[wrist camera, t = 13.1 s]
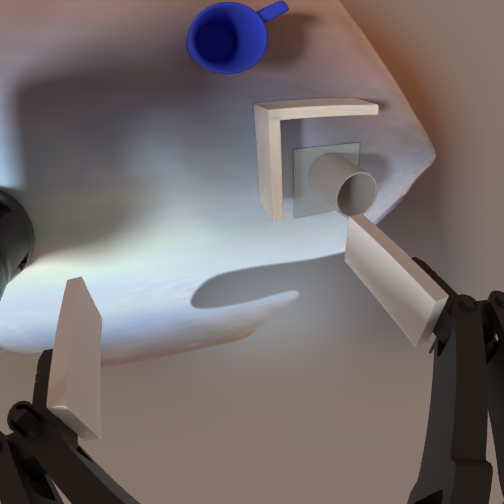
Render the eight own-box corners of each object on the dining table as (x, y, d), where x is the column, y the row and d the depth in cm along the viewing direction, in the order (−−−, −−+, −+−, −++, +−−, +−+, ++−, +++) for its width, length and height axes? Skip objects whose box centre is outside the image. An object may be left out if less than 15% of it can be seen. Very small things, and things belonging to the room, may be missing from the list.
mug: (277, 36, 36) (310, 32, 28) (204, 83, 38) (219, 89, 30) (244, -10, 31) (270, -26, 23) (167, 37, 33) (172, 29, 25)
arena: (259, 202, 50) (273, 220, 45) (253, 103, 41) (267, 109, 36) (351, 186, 53) (370, 201, 49) (355, 97, 44) (378, 104, 40)
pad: (293, 217, 54) (294, 218, 53) (293, 149, 47) (293, 149, 46) (353, 205, 56) (354, 206, 56) (358, 142, 49) (359, 143, 49)
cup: (340, 145, 48) (373, 163, 41) (352, 194, 54) (382, 218, 47) (302, 163, 48) (330, 184, 41) (318, 212, 54) (344, 239, 47)
